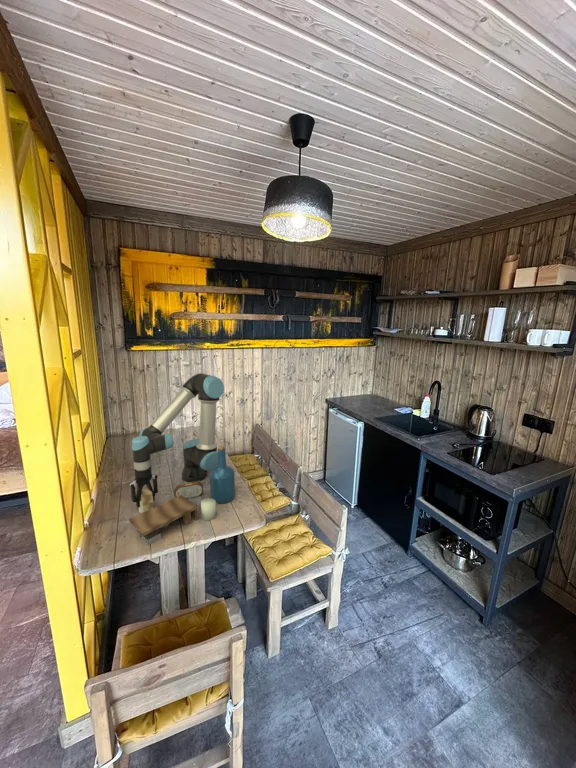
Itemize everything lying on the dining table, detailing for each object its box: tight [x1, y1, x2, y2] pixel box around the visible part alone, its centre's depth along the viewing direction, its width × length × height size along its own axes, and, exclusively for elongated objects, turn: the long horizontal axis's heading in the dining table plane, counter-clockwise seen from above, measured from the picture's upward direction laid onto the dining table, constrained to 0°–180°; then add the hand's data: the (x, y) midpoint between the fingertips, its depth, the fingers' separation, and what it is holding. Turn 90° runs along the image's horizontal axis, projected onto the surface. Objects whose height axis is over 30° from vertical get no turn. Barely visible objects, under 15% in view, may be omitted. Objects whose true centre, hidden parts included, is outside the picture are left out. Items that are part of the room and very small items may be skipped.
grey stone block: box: [140, 529, 162, 546], centre depth 141 cm, size 6×6×3 cm
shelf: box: [128, 495, 199, 536], centre depth 149 cm, size 26×14×8 cm, turn 139°
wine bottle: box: [209, 445, 236, 505], centre depth 170 cm, size 14×13×30 cm
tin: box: [173, 481, 204, 499], centre depth 173 cm, size 15×3×8 cm, turn 111°
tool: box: [140, 488, 170, 529], centre depth 156 cm, size 5×22×10 cm, turn 49°
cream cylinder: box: [200, 497, 217, 522], centre depth 157 cm, size 7×7×8 cm
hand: (146, 509), depth 162 cm, fingers closed on tool, 5 cm apart
